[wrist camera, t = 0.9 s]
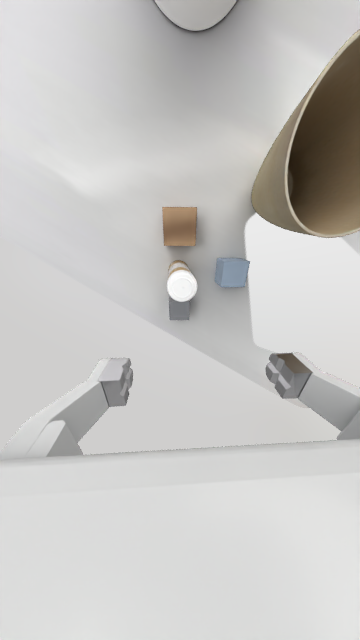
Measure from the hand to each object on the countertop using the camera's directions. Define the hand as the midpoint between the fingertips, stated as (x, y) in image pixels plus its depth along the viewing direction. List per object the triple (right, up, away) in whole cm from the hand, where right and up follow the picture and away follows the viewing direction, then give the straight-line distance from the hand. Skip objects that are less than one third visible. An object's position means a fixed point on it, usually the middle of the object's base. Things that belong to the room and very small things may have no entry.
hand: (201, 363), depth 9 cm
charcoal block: (-2, +7, +29) cm, 30 cm away
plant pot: (+15, +26, +19) cm, 36 cm away
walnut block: (-2, +21, +21) cm, 30 cm away
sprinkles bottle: (-2, +14, +25) cm, 29 cm away
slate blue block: (+9, +14, +26) cm, 31 cm away
